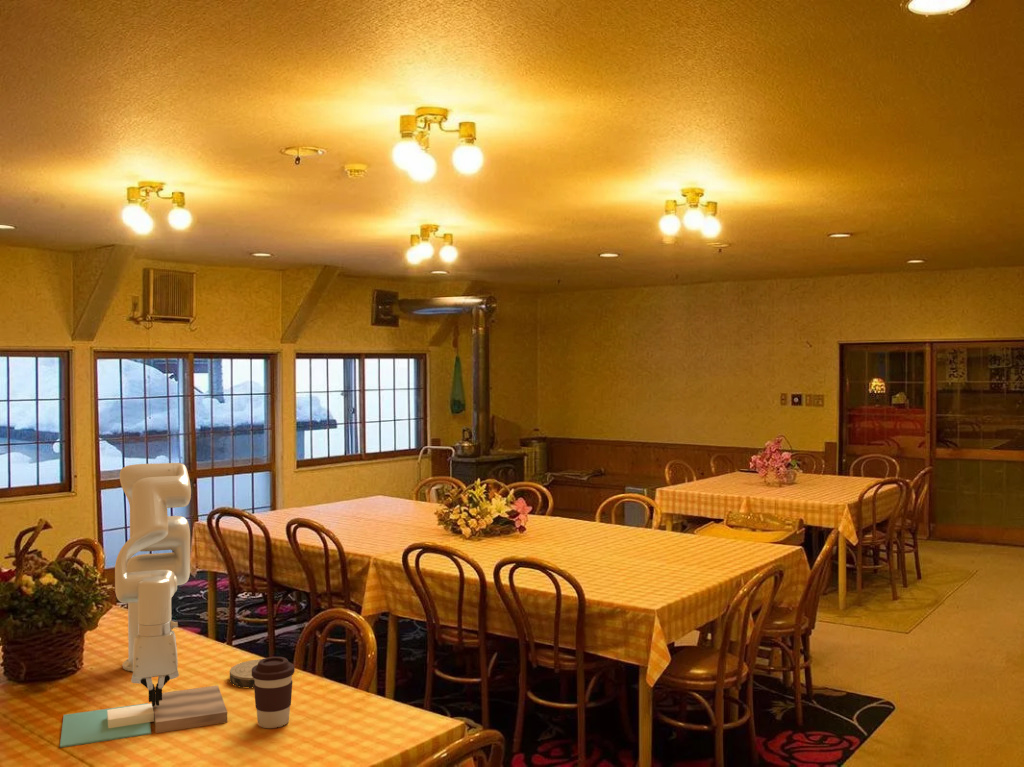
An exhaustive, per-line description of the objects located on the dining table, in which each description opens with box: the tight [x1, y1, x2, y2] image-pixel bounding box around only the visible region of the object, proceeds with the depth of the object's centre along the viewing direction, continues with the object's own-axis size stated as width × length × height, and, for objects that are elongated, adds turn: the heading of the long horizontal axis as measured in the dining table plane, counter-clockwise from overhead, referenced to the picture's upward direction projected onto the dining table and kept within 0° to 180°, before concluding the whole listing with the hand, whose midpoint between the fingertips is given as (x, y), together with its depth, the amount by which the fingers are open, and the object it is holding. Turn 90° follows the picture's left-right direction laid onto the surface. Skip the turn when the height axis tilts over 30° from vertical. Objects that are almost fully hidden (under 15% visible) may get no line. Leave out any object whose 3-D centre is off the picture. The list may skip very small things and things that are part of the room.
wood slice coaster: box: [229, 658, 263, 689], centre depth 250 cm, size 16×16×3 cm
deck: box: [152, 684, 228, 734], centre depth 224 cm, size 20×16×2 cm
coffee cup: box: [252, 656, 296, 729], centre depth 218 cm, size 10×10×15 cm
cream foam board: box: [107, 702, 154, 728], centre depth 219 cm, size 7×10×2 cm
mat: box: [59, 702, 152, 748], centre depth 217 cm, size 20×19×1 cm
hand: (155, 703), depth 221 cm, fingers closed
